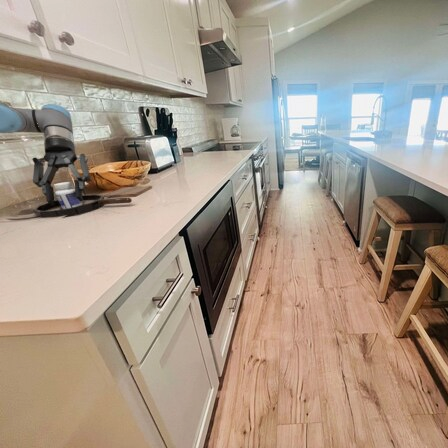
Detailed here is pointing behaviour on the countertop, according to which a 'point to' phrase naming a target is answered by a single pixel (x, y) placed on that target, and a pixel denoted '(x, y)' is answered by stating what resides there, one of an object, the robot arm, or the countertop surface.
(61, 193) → the pill bottle
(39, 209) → the pan
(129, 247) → the countertop surface
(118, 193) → the trivet
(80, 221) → the countertop surface
